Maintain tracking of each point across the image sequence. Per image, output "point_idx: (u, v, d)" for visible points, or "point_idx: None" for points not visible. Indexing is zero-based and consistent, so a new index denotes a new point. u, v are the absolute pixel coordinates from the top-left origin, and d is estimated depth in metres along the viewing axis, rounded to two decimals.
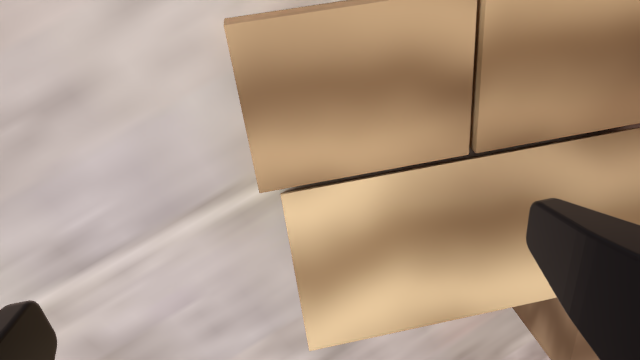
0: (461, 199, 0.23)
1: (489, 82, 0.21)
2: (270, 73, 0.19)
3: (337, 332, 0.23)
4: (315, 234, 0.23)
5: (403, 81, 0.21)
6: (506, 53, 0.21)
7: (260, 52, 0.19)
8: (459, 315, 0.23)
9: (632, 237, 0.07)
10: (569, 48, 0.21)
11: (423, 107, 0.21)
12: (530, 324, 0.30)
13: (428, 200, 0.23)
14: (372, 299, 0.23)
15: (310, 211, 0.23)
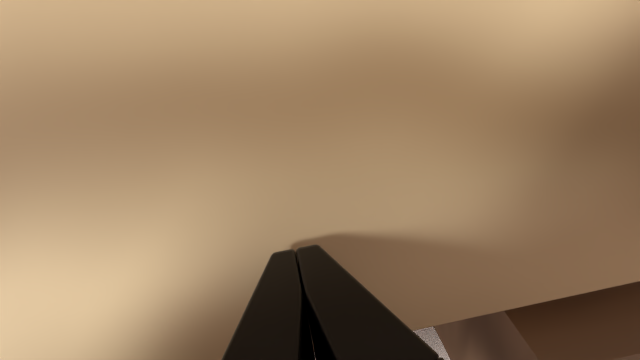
0: (204, 37, 0.08)
1: None
2: None
3: None
4: None
5: None
6: None
7: None
8: None
9: (338, 298, 0.06)
10: None
11: None
12: None
13: (103, 36, 0.08)
14: None
15: None
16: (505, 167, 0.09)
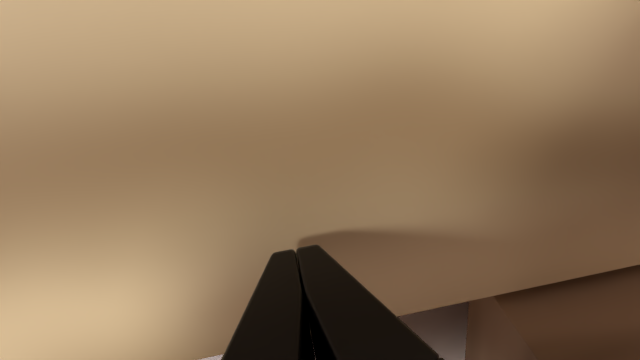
0: (197, 70, 0.07)
1: None
2: None
3: None
4: None
5: None
6: None
7: None
8: (213, 350, 0.10)
9: (338, 298, 0.06)
10: None
11: None
12: None
13: (70, 70, 0.06)
14: None
15: None
16: (504, 194, 0.09)
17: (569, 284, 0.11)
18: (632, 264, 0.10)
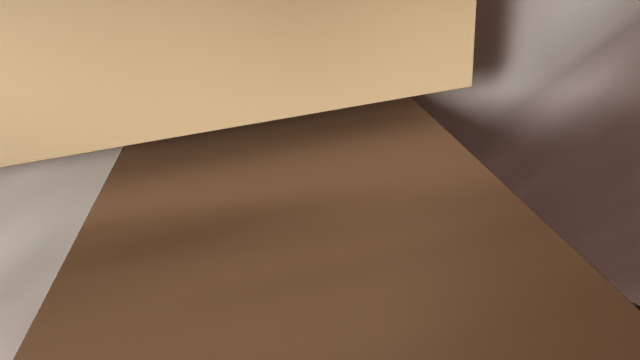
0: None
1: None
2: None
3: None
4: None
5: None
6: None
7: None
8: None
9: None
10: None
11: None
12: None
13: None
14: None
15: None
16: None
17: (234, 152, 0.07)
18: (315, 110, 0.06)
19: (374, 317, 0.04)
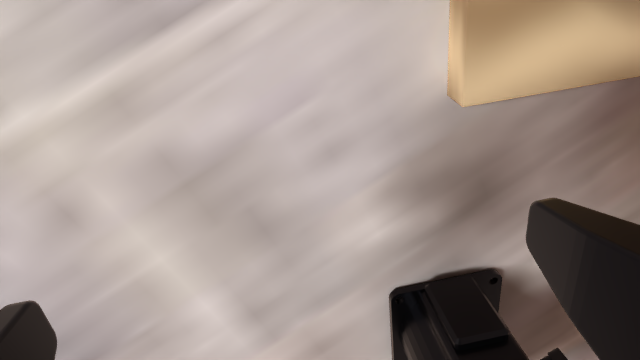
0: None
1: None
2: None
3: (498, 87, 0.19)
4: None
5: None
6: None
7: None
8: (637, 73, 0.20)
9: (632, 237, 0.07)
10: None
11: None
12: None
13: None
14: (550, 48, 0.18)
15: None
16: None
17: None
18: None
19: None
